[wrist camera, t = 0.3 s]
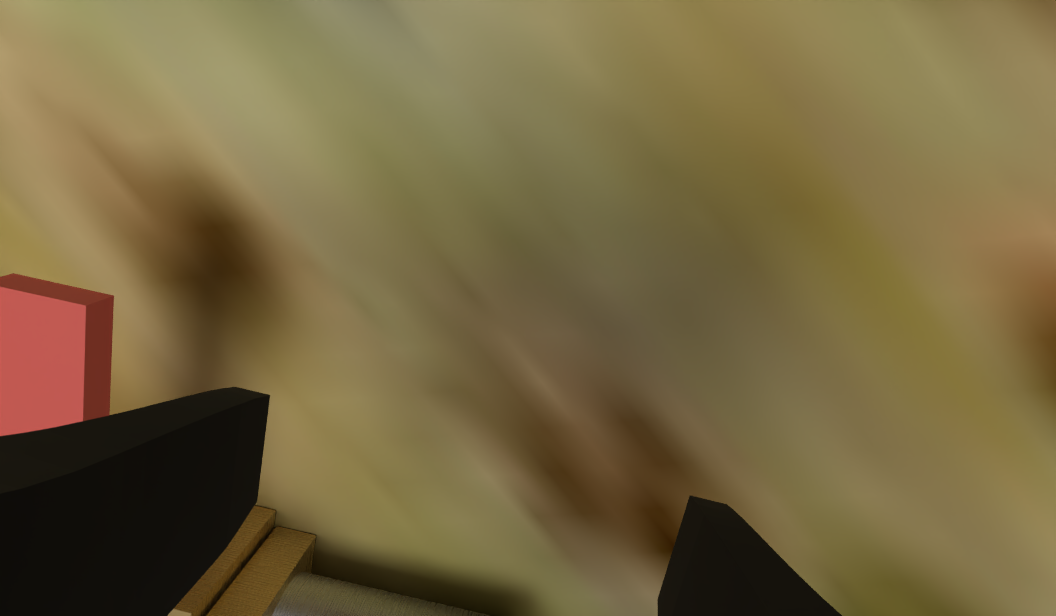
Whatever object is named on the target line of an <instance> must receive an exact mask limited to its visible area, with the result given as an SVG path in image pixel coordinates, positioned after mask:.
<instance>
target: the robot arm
mask: <svg viewBox="0 0 1056 616" xmlns="http://www.w3.org/2000/svg"><path fill="white" fill-rule="evenodd" d="M269 399H270V395H267V394H263V393H259V392H254V391H250V390H246V389H242V388H238V387H230V388H223V389H217V390H212V391H207V392H203V393H199V394H194V395H190V396H186V397H182V398H178V399H174V400H170V401H166V402H162V403H158V404H154V405H150V406H146V407H142V408H138V409H134V410H131V411H126V412H122V413H118V414H113V415H109V416H104V417H100V418H95V419H90V420H86V421H81V422H77V423H72V424H67V425H63V426H58V427H53V428H48V429H42V430H36V431H30V432H25V433H19V434H11V435H4V436H0V616H168V614H169V613H170V612H171V611H172V610H173V609H174V608H175V607H176V605H177V604H178V603H179V602H180V601H181V600H182V599H183V598H184V596H185V595H186V594H187V593H188V592H189V591H190V590H191V588H192V587H193V586H194V585H195V584H196V583H197V582H198V580H199V579H200V578H201V577H202V576H203V575H204V574H205V572H206V571H207V570H208V569H209V568H210V567H211V566H212V564H213V563H214V562H215V561H216V560H217V559H218V557H219V556H220V555H221V554H222V553H223V552H224V550H225V549H226V548H227V546H228V545H229V543H230V542H231V540H232V539H233V537H234V536H235V535H236V533H237V532H238V530H239V529H240V527H241V526H242V524H243V522H244V521H245V519H246V518H247V516H248V515H249V513H250V511H251V510H252V508H253V507H254V505H255V504H256V502H257V497H258V489H259V481H260V472H261V464H262V456H263V448H264V440H265V431H266V423H267V415H268V407H269ZM658 616H842V615H841V614H840V613H839V612H837V611H836V610H835V609H834V608H833V607H832V606H831V605H830V604H829V603H827V602H826V601H825V600H824V599H823V598H822V597H821V596H820V595H819V594H818V593H817V592H816V591H814V590H813V589H812V588H811V587H810V586H809V585H808V584H807V583H806V582H805V581H804V580H803V579H802V578H801V577H800V576H799V575H798V574H797V573H796V572H795V571H794V570H793V569H792V568H791V567H790V566H789V565H788V564H787V563H786V562H785V561H784V560H783V559H782V558H781V557H780V556H779V555H778V554H777V553H776V552H775V551H774V550H773V549H772V548H771V547H770V546H769V545H768V544H767V543H766V542H765V541H764V540H763V539H762V538H761V537H760V536H759V535H758V533H757V532H756V531H755V530H754V529H753V528H752V527H751V526H750V525H749V524H748V523H747V522H746V521H745V520H744V519H743V518H742V517H741V516H739V515H738V514H737V513H736V512H735V511H734V510H733V509H732V508H730V507H729V506H728V505H727V504H723V503H719V502H715V501H711V500H707V499H702V498H698V497H694V496H690V497H689V500H688V503H687V506H686V510H685V513H684V516H683V519H682V523H681V526H680V529H679V532H678V535H677V539H676V542H675V545H674V548H673V552H672V555H671V558H670V561H669V564H668V568H667V571H666V574H665V577H664V580H663V584H662V587H661V590H660V593H659V597H658Z"/></svg>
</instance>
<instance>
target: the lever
mask: <svg viewBox="0 0 1056 616" xmlns="http://www.w3.org/2000/svg"><path fill="white" fill-rule="evenodd" d="M113 303H114V296H113V295H108V294H104V293H99V292H95V291H90V290H86V289H81V288H77V287H72V286H68V285H63V284H59V283H54V282H50V281H45V280H41V279H36V278H32V277H27V276H23V275H18V274H14V273H13V274H10V275H6V276H2V277H0V436H4V435H11V434H19V433H25V432H30V431H36V430H42V429H48V428H53V427H58V426H63V425H67V424H72V423H77V422H81V421H86V420H90V419H95V418H100V417H104V416H109V410H110V383H111V356H112V330H113Z"/></svg>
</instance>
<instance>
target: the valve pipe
mask: <svg viewBox="0 0 1056 616" xmlns="http://www.w3.org/2000/svg"><path fill="white" fill-rule="evenodd" d="M275 513H276V510H272V509H267V508H263V507H259V506H254V507H253V508H252V510H251V511H250V513H249V515H248V516H247V518H246V519H245V521H244V522H243V524H242V526H241V527H240V529H239V530H238V532H237V533H236V535H235V536H234V537H233V539H232V540H231V542H230V543H229V545H228V546H227V548H226V549H225V550H224V552H223V553H222V554H221V555H220V556H219V557H218V559H217V560H216V561H215V562H214V563H213V564H212V566H211V567H210V568H209V569H208V570H207V571H206V572H205V574H204V575H203V576H202V577H201V578H200V579H199V580H198V582H197V583H196V584H195V585H194V586H193V587H192V588H191V590H190V591H189V592H188V593H187V594H186V595H185V596H184V598H183V599H182V600H181V601H180V602H179V603H178V604H177V605H176V607H175V608H174V609H173V610H172V611H171V612H170V613H169V614H168V616H490V615H486V614H482V613H477V612H473V611H469V610H465V609H460V608H456V607H452V606H448V605H443V604H439V603H435V602H430V601H426V600H422V599H418V598H413V597H409V596H405V595H401V594H396V593H392V592H388V591H384V590H379V589H375V588H371V587H366V586H362V585H358V584H354V583H349V582H345V581H341V580H337V579H332V578H328V577H324V576H320V575H315V574H311V570H312V562H313V555H314V547H315V540H316V535H313V534H308V533H304V532H300V531H296V530H291V529H287V528H283V527H278V526H277V527H276V528H275V529H274V522H275Z"/></svg>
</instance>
